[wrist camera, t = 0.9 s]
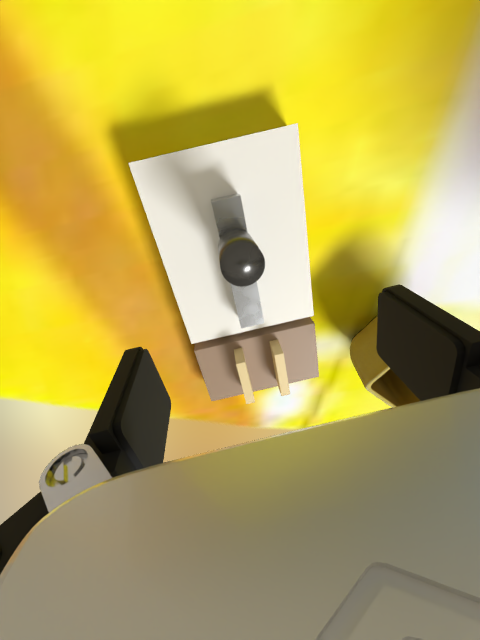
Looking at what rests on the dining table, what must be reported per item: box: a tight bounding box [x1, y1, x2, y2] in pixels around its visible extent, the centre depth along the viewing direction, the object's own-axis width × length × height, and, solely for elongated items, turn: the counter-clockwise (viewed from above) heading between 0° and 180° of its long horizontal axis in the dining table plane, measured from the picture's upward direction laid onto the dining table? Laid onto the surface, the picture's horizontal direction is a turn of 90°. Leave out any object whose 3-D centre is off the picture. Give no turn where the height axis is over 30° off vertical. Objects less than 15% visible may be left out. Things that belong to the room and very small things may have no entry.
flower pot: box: [350, 316, 420, 408], centre depth 33 cm, size 9×9×9 cm
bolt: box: [211, 193, 265, 328], centre depth 24 cm, size 3×12×7 cm, turn 11°
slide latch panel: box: [128, 123, 319, 404], centre depth 29 cm, size 14×27×6 cm, turn 11°
